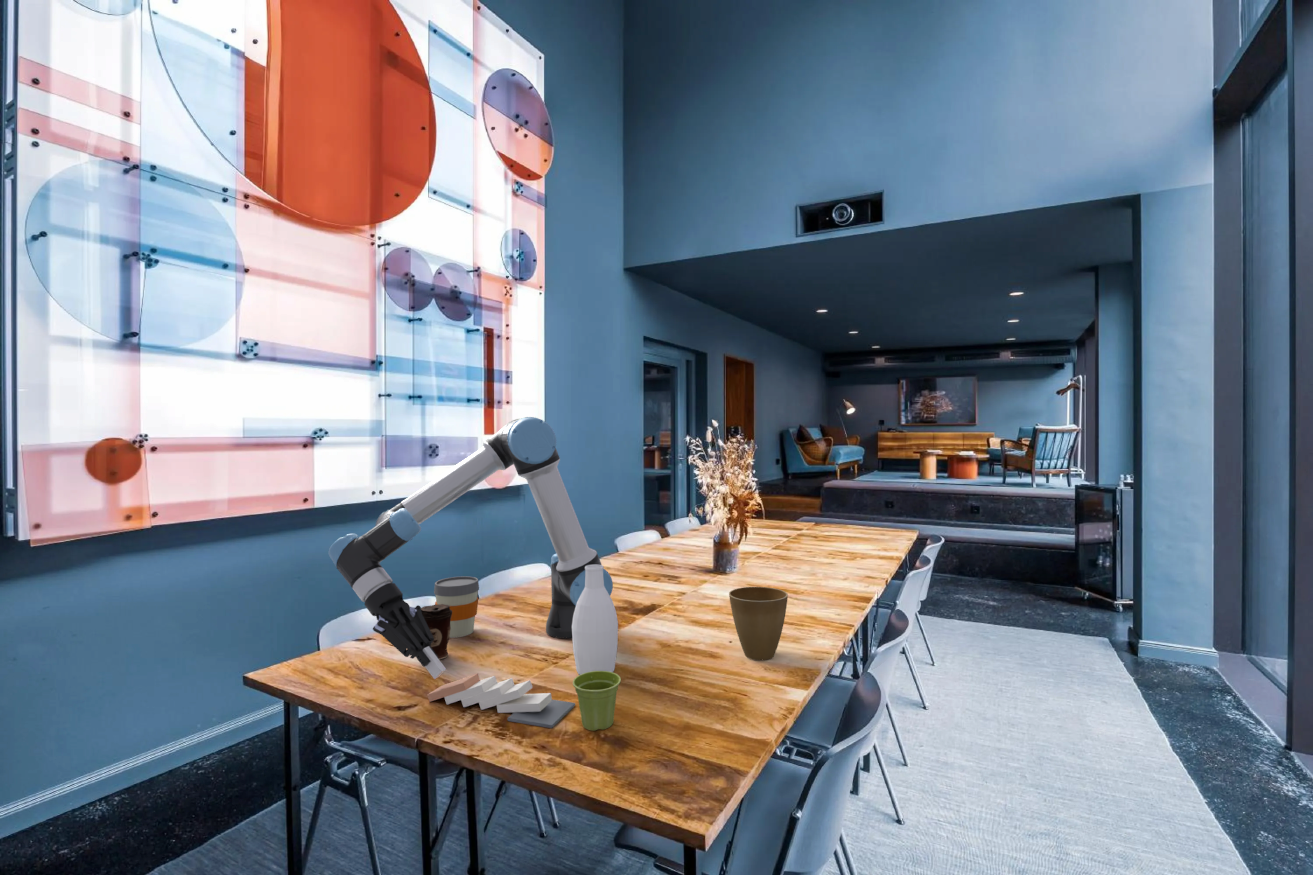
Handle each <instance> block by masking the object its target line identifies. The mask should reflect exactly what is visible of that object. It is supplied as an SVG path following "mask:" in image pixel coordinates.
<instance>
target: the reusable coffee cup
mask: <svg viewBox="0 0 1313 875" xmlns="http://www.w3.org/2000/svg"><path fill="white" fill-rule="evenodd" d="M479 590H480V582H479V579H478V578H477V577H475V576H466V575H465V576H464V575H462V576H453V577H446V578H442V579H439V580H437V581H436V582H434V589H433V594H434V595H435V602H434V605H439V604H446V605H449V606H450V607H449V608H450V610H452V616H451V621H450V626H451V630H450V639H451V638H452V639H453V638H462V637H466V636H469V635H471V634H472V633H474V629H475V628H474V627H475V620H476V615H477V614H478V608H479V607H478V606H479V597H478V592H479Z"/></svg>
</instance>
